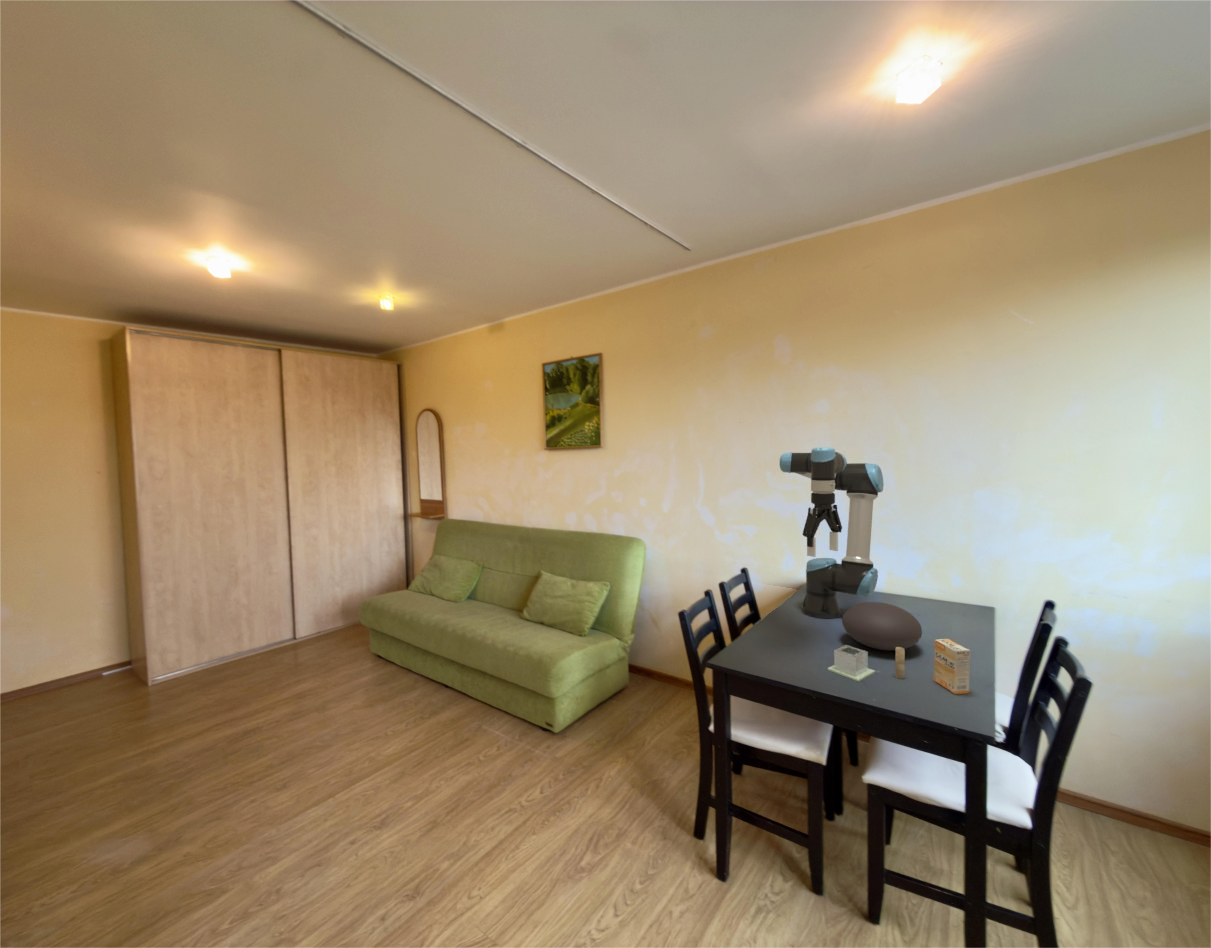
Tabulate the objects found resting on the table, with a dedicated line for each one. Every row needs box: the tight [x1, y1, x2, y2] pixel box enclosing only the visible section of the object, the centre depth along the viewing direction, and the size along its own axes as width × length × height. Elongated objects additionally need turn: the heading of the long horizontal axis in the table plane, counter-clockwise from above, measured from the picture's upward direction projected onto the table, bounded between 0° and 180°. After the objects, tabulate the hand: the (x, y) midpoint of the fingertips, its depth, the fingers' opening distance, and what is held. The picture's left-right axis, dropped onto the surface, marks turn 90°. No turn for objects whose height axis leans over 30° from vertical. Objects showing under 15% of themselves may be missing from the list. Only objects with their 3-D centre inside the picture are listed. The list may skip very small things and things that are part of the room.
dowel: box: [894, 647, 906, 680], centre depth 151 cm, size 2×2×9 cm
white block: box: [833, 644, 869, 676], centre depth 156 cm, size 7×7×6 cm
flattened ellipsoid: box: [841, 601, 923, 652], centre depth 174 cm, size 25×25×15 cm
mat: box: [827, 664, 876, 682], centre depth 156 cm, size 10×10×1 cm
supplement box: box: [933, 638, 971, 695], centre depth 144 cm, size 8×5×13 cm, turn 5°
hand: (822, 553), depth 169 cm, fingers open, 13 cm apart
